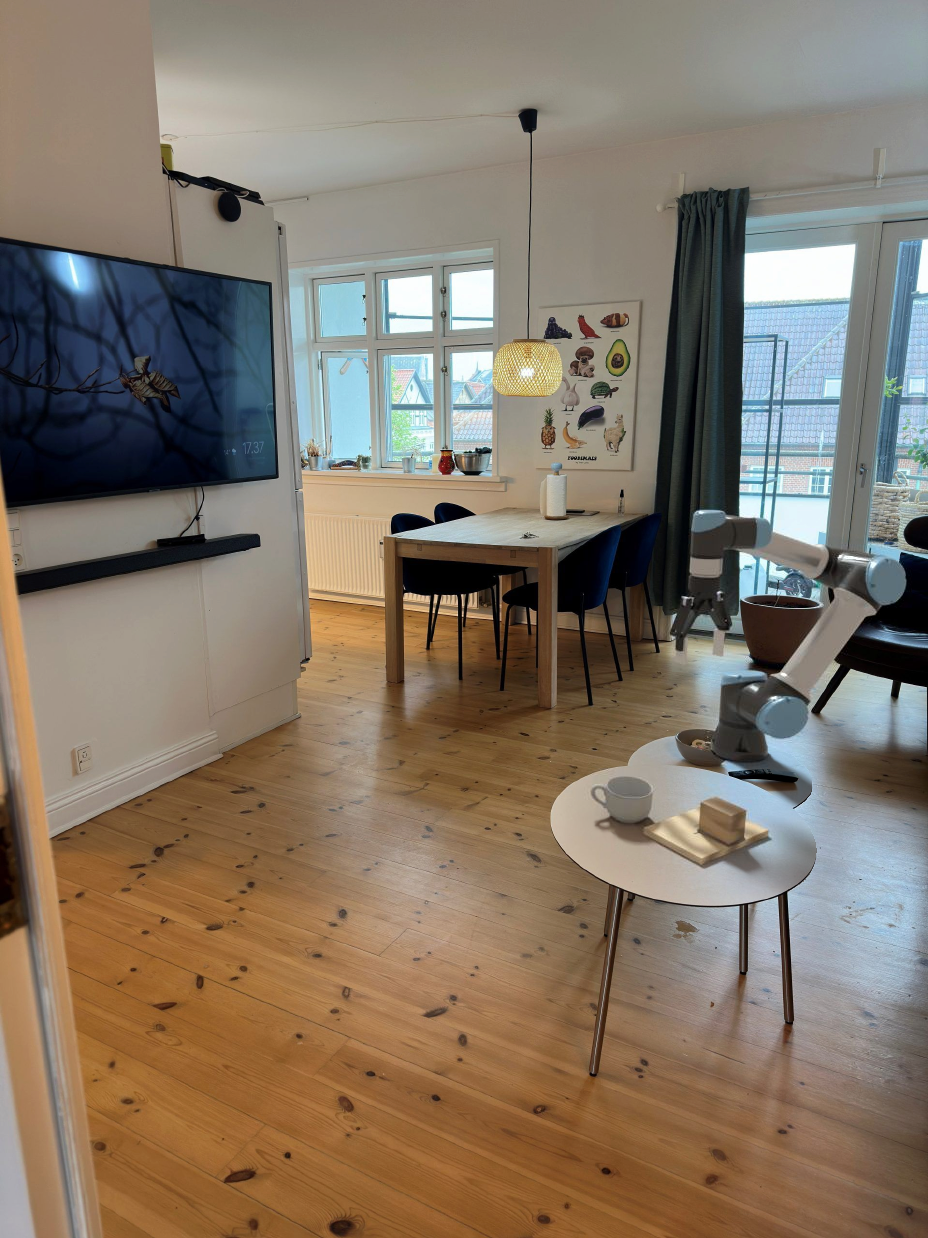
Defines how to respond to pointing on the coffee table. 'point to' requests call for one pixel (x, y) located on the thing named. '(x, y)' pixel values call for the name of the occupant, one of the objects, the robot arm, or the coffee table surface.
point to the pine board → (697, 837)
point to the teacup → (626, 798)
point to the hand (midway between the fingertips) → (699, 659)
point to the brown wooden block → (722, 821)
